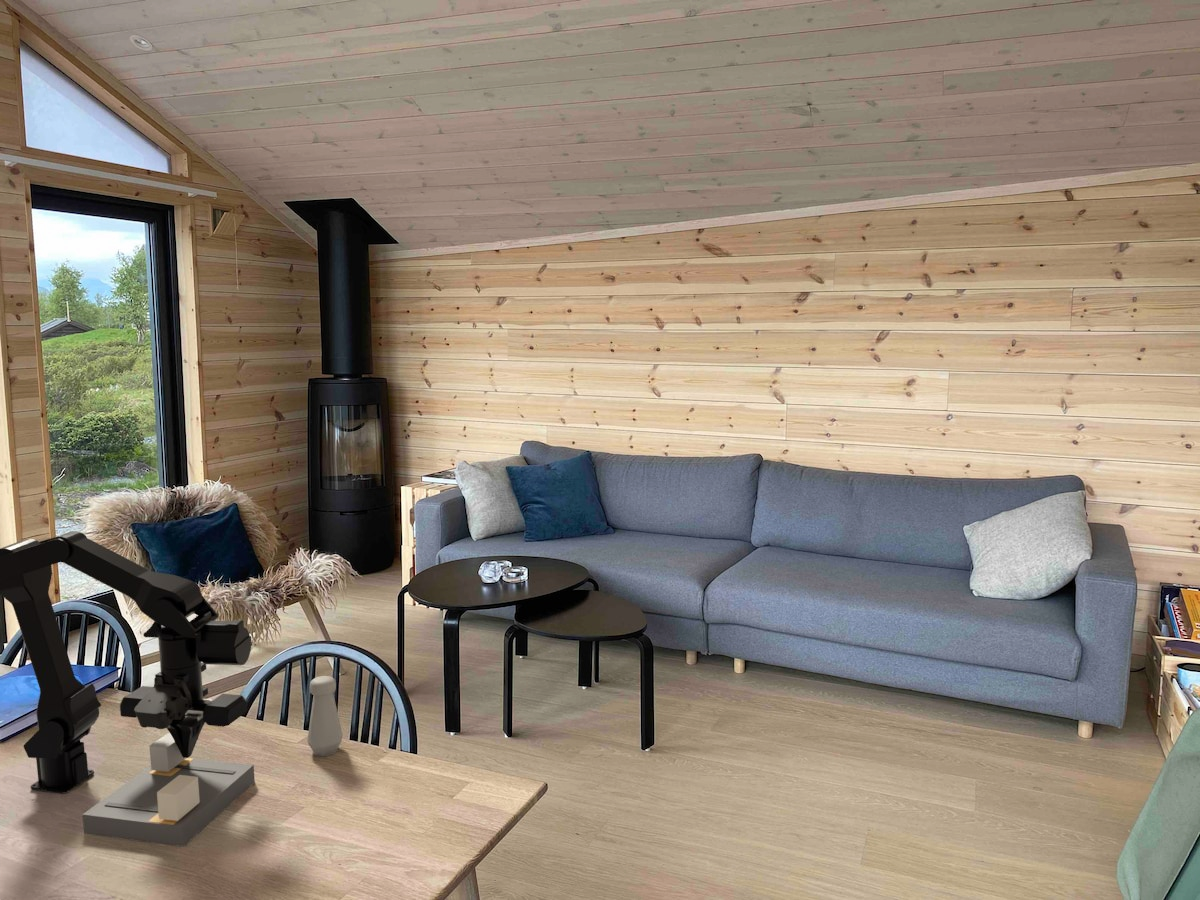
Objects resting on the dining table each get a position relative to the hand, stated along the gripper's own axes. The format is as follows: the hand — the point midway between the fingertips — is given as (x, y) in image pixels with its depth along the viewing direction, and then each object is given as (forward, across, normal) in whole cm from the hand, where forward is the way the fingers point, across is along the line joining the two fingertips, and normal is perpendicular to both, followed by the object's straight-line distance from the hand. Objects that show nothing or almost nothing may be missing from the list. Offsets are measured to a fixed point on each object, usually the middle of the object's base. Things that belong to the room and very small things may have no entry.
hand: (187, 756), depth 145 cm
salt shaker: (+5, +16, +15) cm, 22 cm away
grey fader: (+1, -3, 0) cm, 3 cm away
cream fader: (+1, +7, -12) cm, 14 cm away
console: (+5, +2, -6) cm, 8 cm away
